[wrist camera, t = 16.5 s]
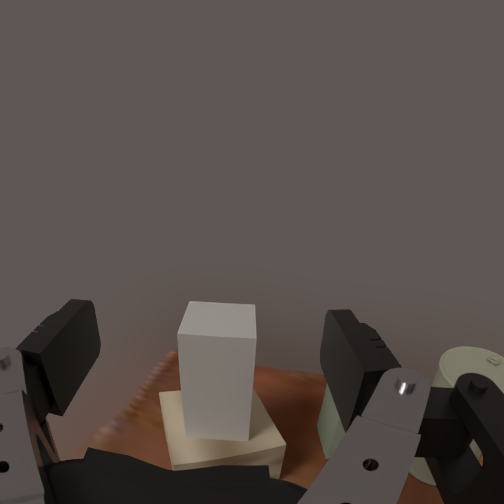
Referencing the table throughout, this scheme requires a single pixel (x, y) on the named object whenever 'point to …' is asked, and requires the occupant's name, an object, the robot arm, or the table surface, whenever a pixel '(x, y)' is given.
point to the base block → (222, 451)
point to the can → (446, 377)
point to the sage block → (329, 425)
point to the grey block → (217, 369)
